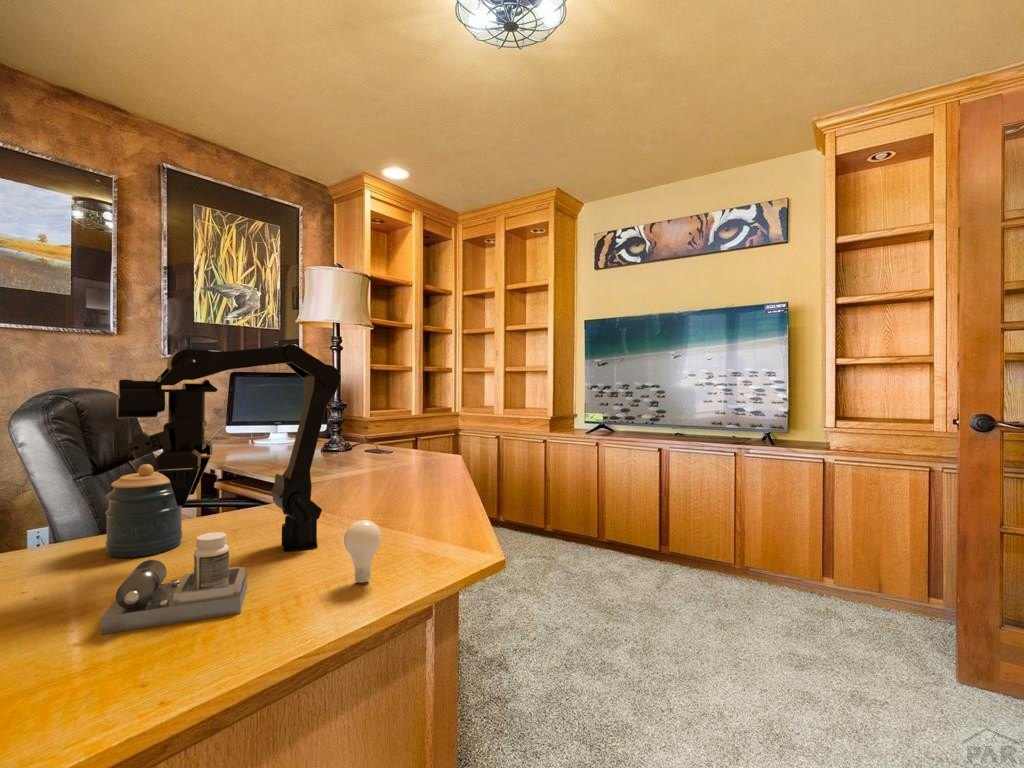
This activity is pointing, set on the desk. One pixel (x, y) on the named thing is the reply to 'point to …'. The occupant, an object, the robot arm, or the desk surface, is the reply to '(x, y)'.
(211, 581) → the pill bottle
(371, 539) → the lightbulb
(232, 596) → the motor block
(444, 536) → the desk surface
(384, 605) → the desk surface
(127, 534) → the canister
